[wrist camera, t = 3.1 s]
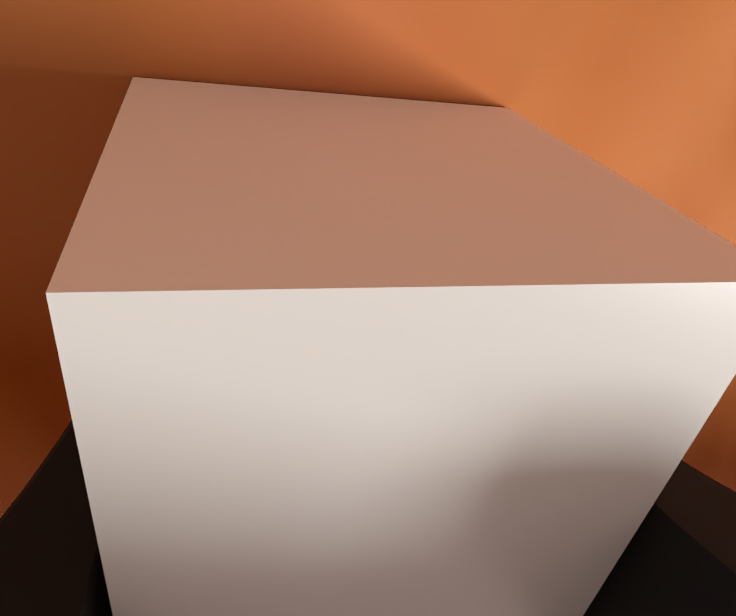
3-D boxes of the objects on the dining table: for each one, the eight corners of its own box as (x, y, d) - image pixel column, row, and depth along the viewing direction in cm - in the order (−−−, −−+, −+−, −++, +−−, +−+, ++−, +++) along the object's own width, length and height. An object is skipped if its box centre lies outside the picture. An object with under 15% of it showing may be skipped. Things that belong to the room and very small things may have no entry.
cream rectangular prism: (508, 108, 9) (795, 281, 5) (406, 497, 14) (498, 749, 10) (132, 76, 7) (46, 293, 3) (172, 526, 13) (160, 841, 8)
